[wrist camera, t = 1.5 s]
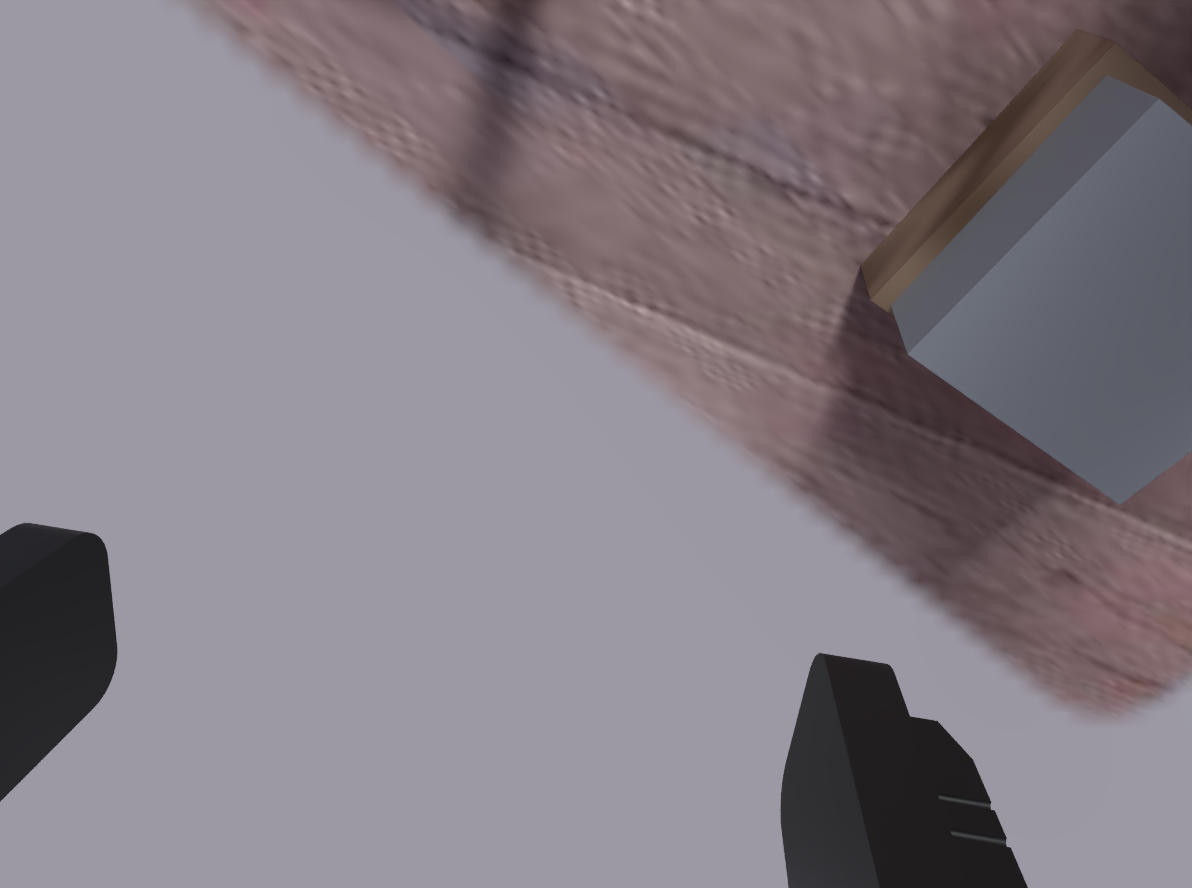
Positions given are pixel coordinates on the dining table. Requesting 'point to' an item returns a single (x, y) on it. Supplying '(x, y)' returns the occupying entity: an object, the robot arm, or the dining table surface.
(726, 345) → the dining table surface
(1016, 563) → the dining table surface
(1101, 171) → the grey top block
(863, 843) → the robot arm
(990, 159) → the walnut base block
